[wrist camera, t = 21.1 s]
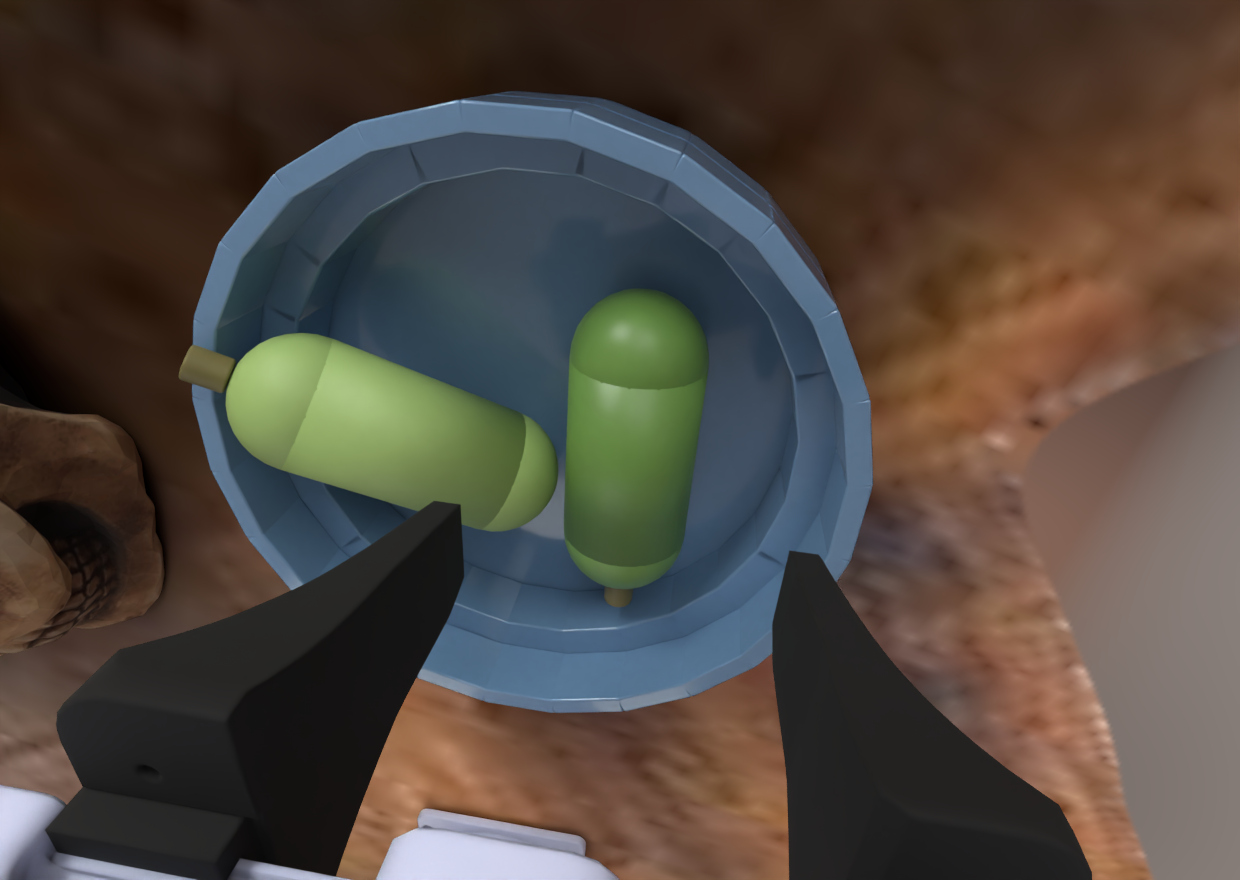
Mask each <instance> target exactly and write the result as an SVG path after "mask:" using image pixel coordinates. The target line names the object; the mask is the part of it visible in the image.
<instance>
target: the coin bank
mask: <svg viewBox="0 0 1240 880" xmlns="http://www.w3.org/2000/svg"><path fill="white" fill-rule="evenodd" d="M155 523H156V521H155V507H154V504H153V502H152V500H151V499H150V498H149V497H148V495H147V494H146V491H145V485H144V479H143V472H142V462H141V459H140V456H139V454H138V451H137V448H136V446H135V443H134V441H133V439H132V438H131V437H130V436H129V435H128V434H127V433H126V432H125V431H124V429H123V428H122V427H120V426H118V425H116V424H114V423H112V422H110V421H109V420H107V419H105V418H103V417H101V416H99V415H93V414H68V413H61V412H55V411H49V410H43V409H40V408H38V407H36V406H34V405H32V404H30V403H29V402H28V400H27V398H26V395H25V393H24V391H23V389H22V387H21V386H20V385H19V384H18V383H17V382H16V381H15V380H14V379H13V378H12V377H11V376H10V375H9V374H8V373H7V372H6V371H5V370H4V369H3V368H2V366H1V365H0V657H1V656H2V655H4V654H6V653H17V652H20V651H23V650H26V649H29V648H33V647H37V646H40V645H43V644H45V643H49V642H52V641H56V640H57V639H59V638H60V637H62V636H63V635H65V634H66V633H68V632H69V631H70V630H71V629H72V628H73V627H76V628H87V629H93V628H99V627H104V626H108V625H112V624H115V623H119V622H122V621H125V620H129V619H132V618H135V617H139V616H142V615H144V614H145V613H146V611H147V610H148V608H149V607H150V606H151V605H152V604H153V603H154V602H155V601H156V600H157V599H158V598H159V595H160V592H161V590H162V586H163V580H164V574H165V572H164V561H163V551H162V545H161V543H160V540H159V538H158V536H157V534H156V532H155Z"/></svg>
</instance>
